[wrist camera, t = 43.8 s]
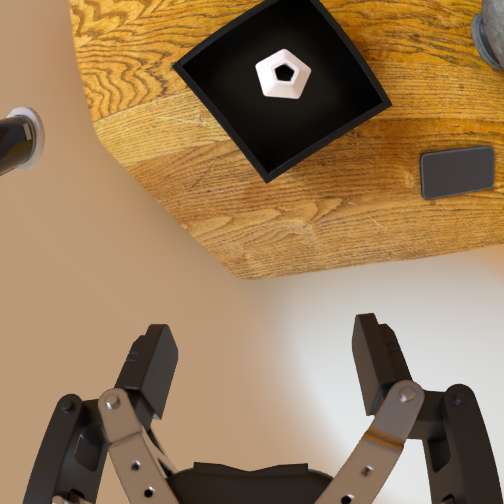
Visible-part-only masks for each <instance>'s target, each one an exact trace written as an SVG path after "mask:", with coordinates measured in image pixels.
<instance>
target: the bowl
mask: <svg viewBox="0 0 504 504" xmlns="http://www.w3.org/2000/svg"><path fill="white" fill-rule="evenodd" d="M471 32H472V37H473V41H474V43H475V46H476V48H477V50H478V52H479V53H480V55H481V56H482V58H483V59H484V60H485V61H486V62H487V63H488V64H489V65H490V66H491V67H493V68H495V69H497V70H504V0H482V12H481V13H478V14H476V15H475V17H474V18H473V20H472V23H471Z"/></svg>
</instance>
